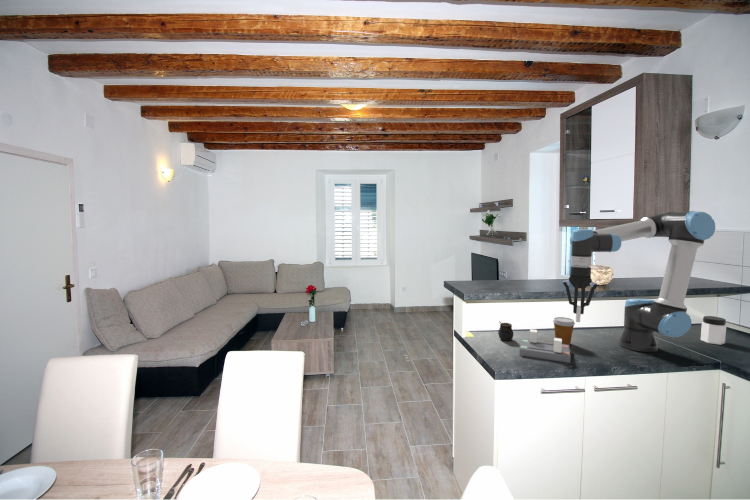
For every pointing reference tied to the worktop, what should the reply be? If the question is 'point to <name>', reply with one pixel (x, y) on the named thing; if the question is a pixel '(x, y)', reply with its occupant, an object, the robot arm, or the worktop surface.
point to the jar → (713, 330)
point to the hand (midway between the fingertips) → (577, 321)
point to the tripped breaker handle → (557, 345)
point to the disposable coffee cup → (563, 329)
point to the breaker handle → (533, 335)
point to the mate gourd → (505, 331)
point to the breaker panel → (544, 351)
